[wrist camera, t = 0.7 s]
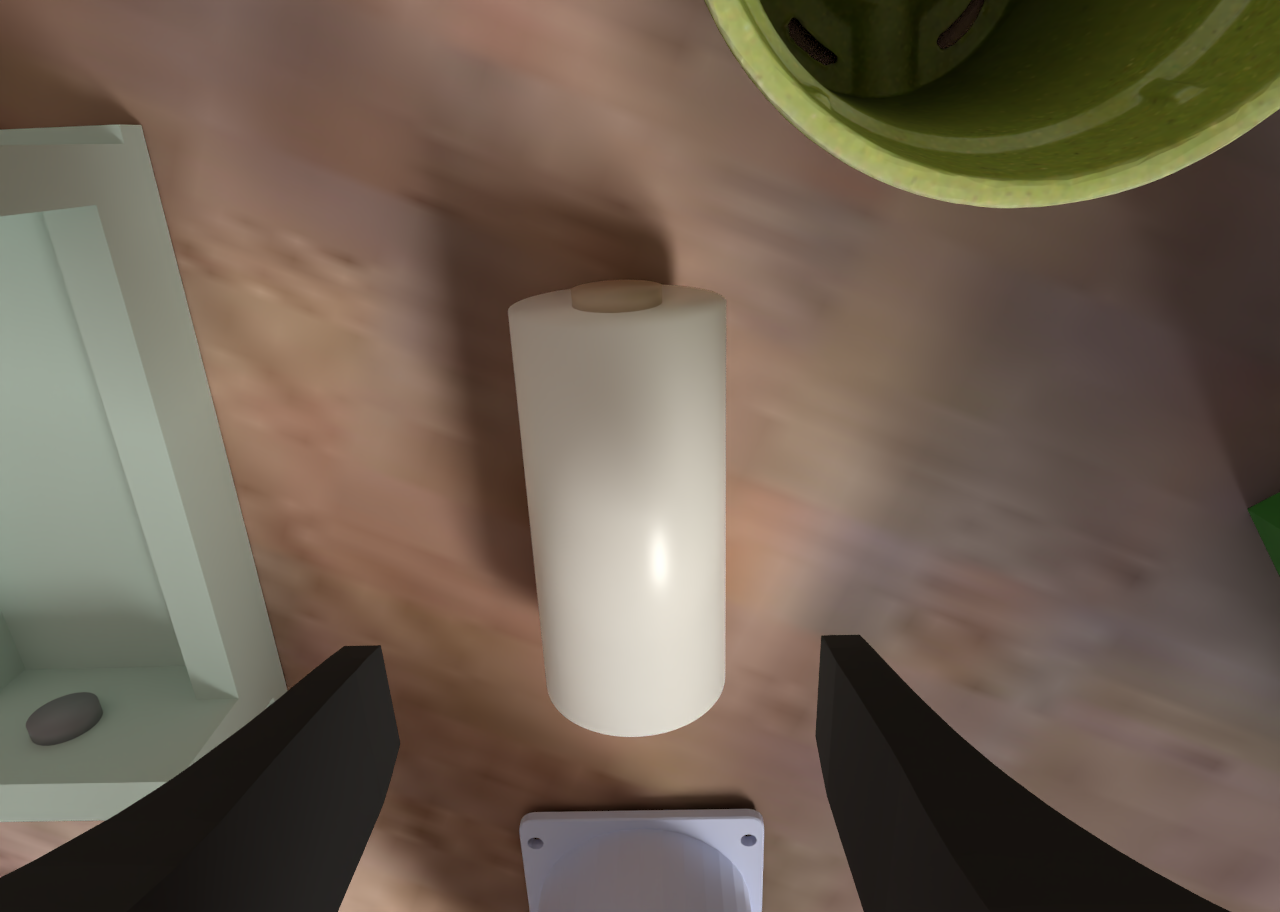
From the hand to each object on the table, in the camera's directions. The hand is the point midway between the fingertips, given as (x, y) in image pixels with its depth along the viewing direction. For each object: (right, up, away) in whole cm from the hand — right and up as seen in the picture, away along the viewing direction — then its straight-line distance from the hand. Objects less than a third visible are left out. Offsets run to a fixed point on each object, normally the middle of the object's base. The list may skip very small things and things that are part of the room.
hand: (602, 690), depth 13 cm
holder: (-15, +4, +9) cm, 18 cm away
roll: (0, +3, +6) cm, 7 cm away
